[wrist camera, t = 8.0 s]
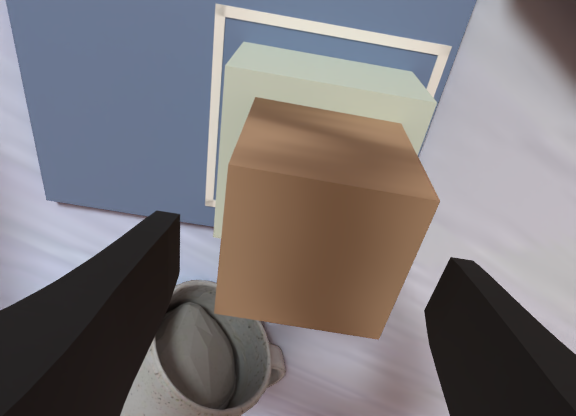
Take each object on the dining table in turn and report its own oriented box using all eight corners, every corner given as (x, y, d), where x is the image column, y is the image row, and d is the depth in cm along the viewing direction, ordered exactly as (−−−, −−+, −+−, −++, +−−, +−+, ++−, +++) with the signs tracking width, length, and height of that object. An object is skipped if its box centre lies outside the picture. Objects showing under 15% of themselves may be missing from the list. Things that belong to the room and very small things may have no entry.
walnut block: (240, 218, 16) (213, 313, 12) (255, 96, 13) (228, 164, 9) (362, 239, 16) (378, 339, 12) (401, 123, 14) (439, 201, 9)
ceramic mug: (116, 326, 27) (57, 444, 21) (177, 256, 23) (128, 373, 17) (243, 388, 31) (226, 507, 24) (314, 335, 27) (316, 459, 20)
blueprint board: (52, 194, 22) (45, 200, 21) (-29, -229, 13) (-44, -237, 12) (380, 246, 22) (382, 254, 22) (514, -120, 14) (522, -123, 13)
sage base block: (230, 188, 20) (213, 237, 17) (243, 41, 16) (224, 65, 13) (367, 211, 20) (378, 263, 17) (412, 71, 16) (437, 102, 13)
